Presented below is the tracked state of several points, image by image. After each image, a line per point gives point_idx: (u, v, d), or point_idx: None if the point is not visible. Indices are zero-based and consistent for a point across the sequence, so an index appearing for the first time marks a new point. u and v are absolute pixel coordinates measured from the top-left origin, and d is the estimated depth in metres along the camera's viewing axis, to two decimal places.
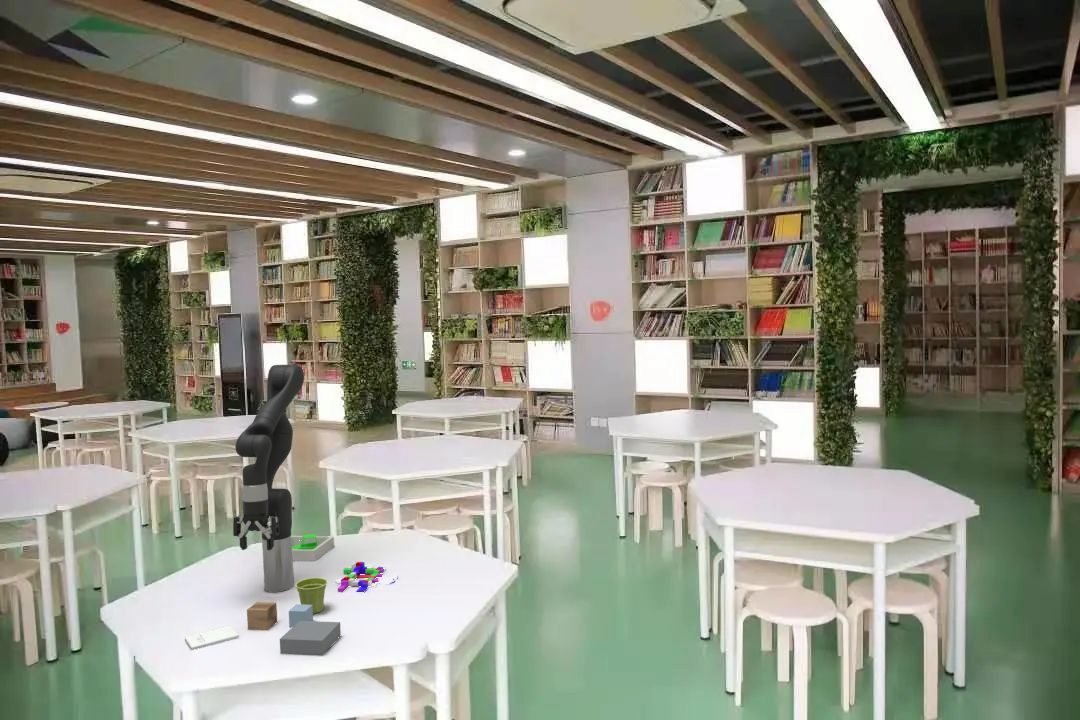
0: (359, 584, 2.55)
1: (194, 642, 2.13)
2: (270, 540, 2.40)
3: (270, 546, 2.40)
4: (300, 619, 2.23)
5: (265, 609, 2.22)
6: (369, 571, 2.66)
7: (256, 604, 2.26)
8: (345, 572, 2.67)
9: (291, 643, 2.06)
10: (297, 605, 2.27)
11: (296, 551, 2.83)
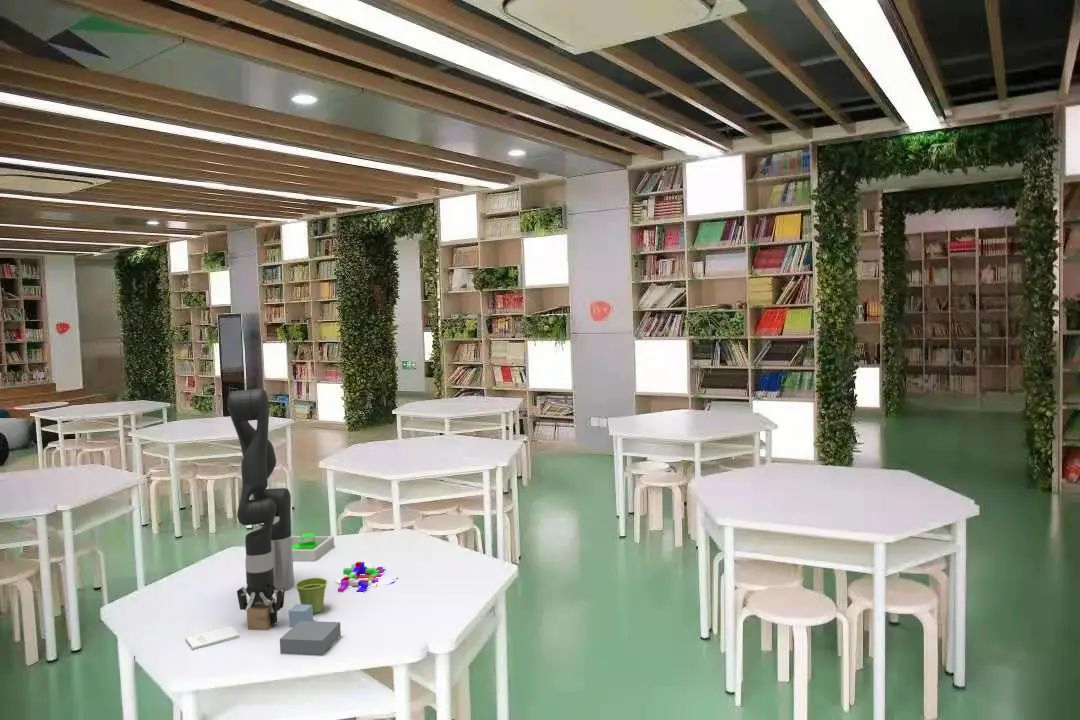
0: (359, 584, 2.55)
1: (195, 642, 2.13)
2: (273, 614, 2.24)
3: (273, 620, 2.24)
4: (300, 619, 2.23)
5: (265, 609, 2.22)
6: (369, 571, 2.66)
7: (256, 604, 2.26)
8: (345, 572, 2.67)
9: (291, 643, 2.06)
10: (297, 605, 2.27)
11: (296, 551, 2.83)
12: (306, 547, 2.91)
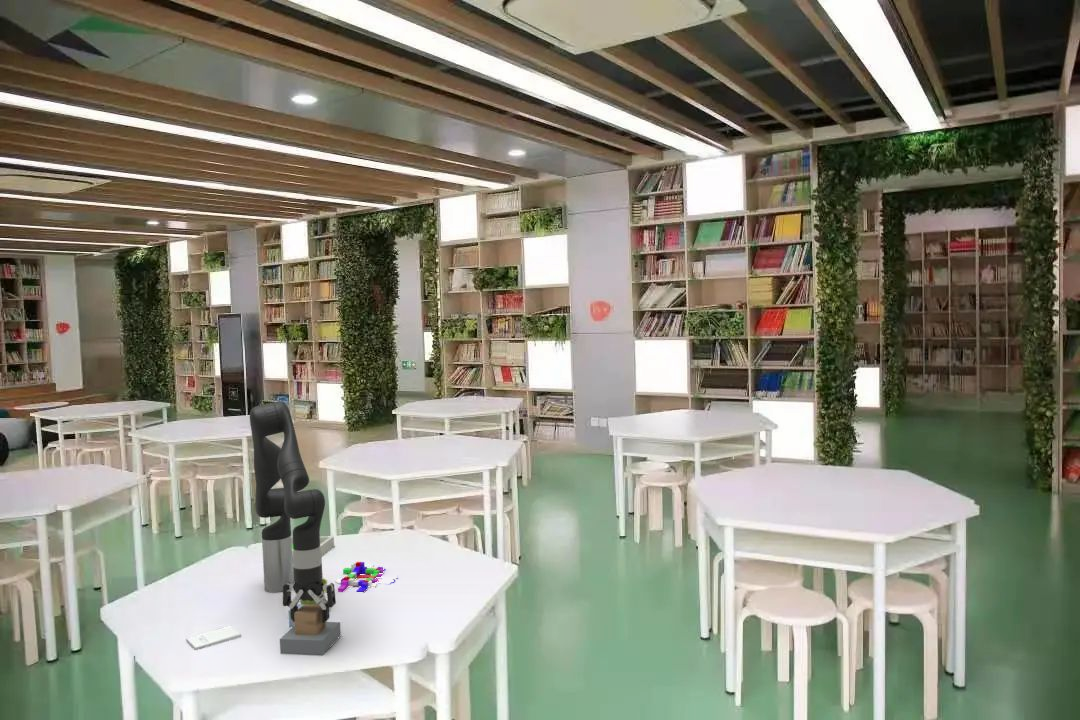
0: (359, 584, 2.55)
1: (197, 642, 2.13)
2: (325, 611, 2.09)
3: (326, 618, 2.10)
4: None
5: (314, 612, 2.08)
6: (369, 571, 2.66)
7: (303, 607, 2.12)
8: (345, 572, 2.67)
9: (291, 643, 2.06)
10: (297, 605, 2.27)
11: None
12: None
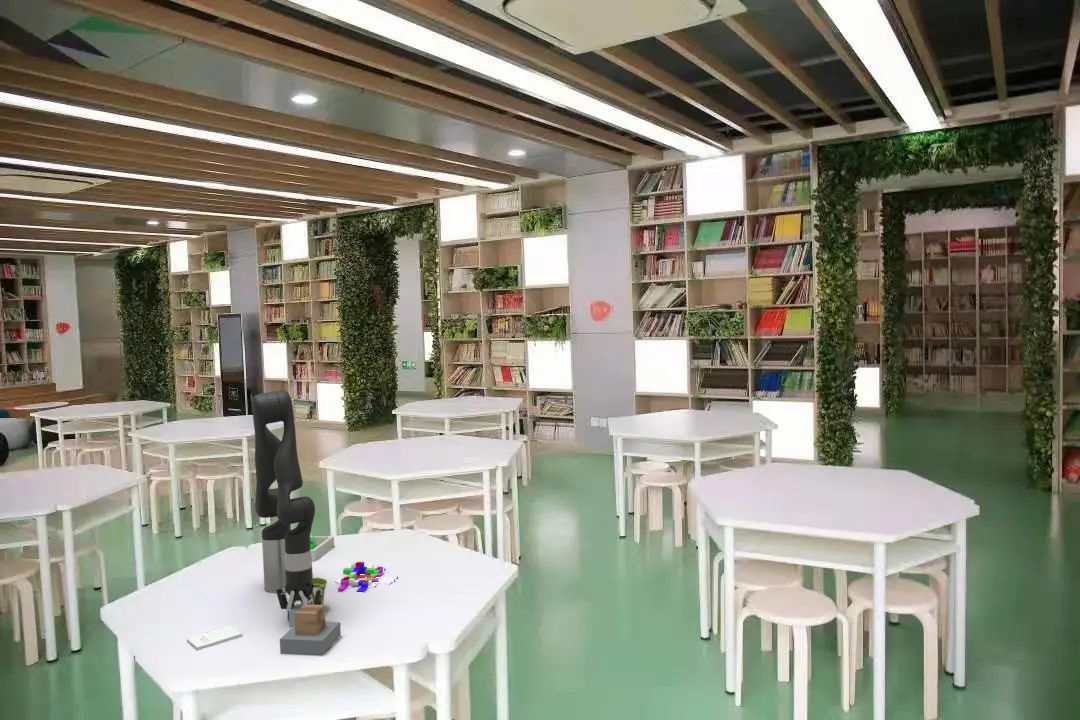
0: (359, 584, 2.55)
1: (198, 642, 2.12)
2: None
3: None
4: None
5: (314, 612, 2.08)
6: (369, 571, 2.66)
7: (303, 607, 2.12)
8: (345, 572, 2.67)
9: (291, 643, 2.06)
10: (297, 605, 2.27)
11: None
12: None
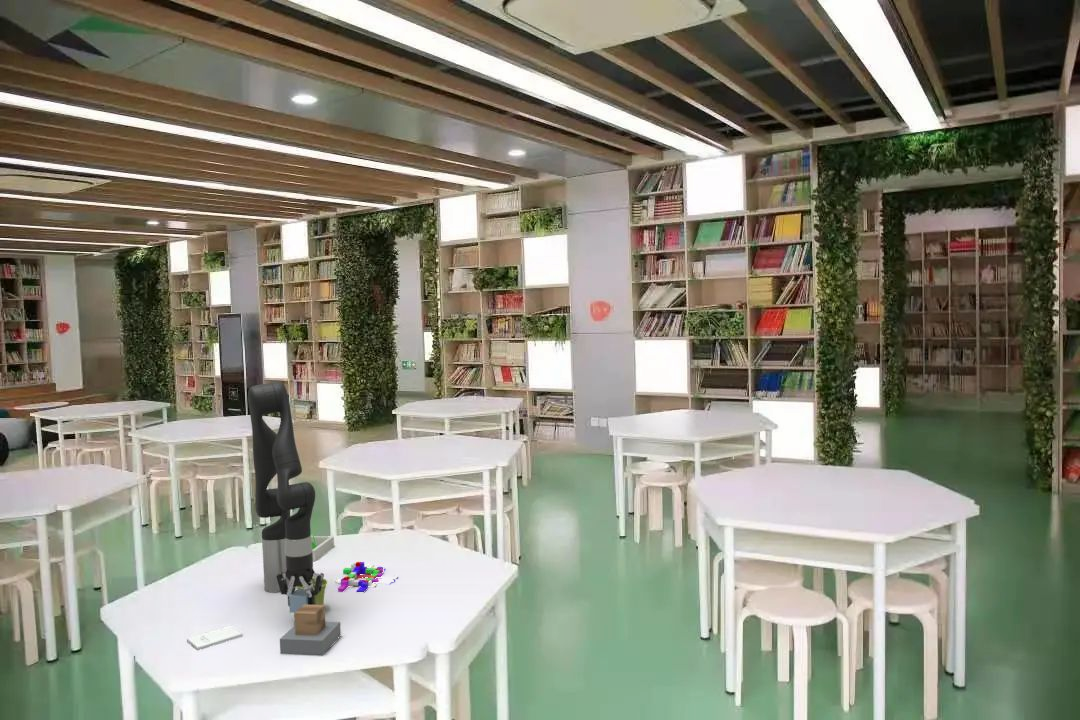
0: (359, 584, 2.55)
1: (199, 642, 2.12)
2: (311, 598, 2.24)
3: None
4: (300, 604, 2.23)
5: (314, 612, 2.08)
6: (369, 571, 2.66)
7: (303, 607, 2.12)
8: (345, 572, 2.67)
9: (291, 643, 2.06)
10: (297, 590, 2.27)
11: None
12: None
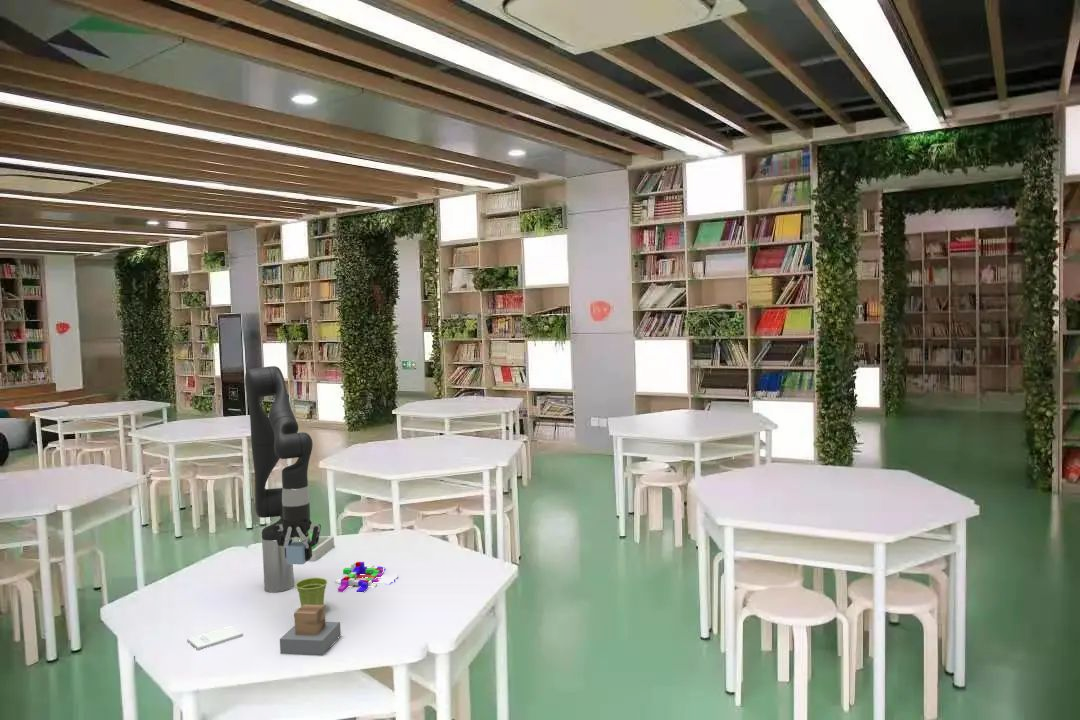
0: (359, 584, 2.55)
1: (199, 642, 2.12)
2: (308, 550, 2.22)
3: (308, 556, 2.22)
4: (297, 555, 2.21)
5: (314, 612, 2.08)
6: (369, 571, 2.66)
7: (303, 607, 2.12)
8: (345, 572, 2.67)
9: (291, 643, 2.06)
10: (294, 542, 2.25)
11: None
12: None
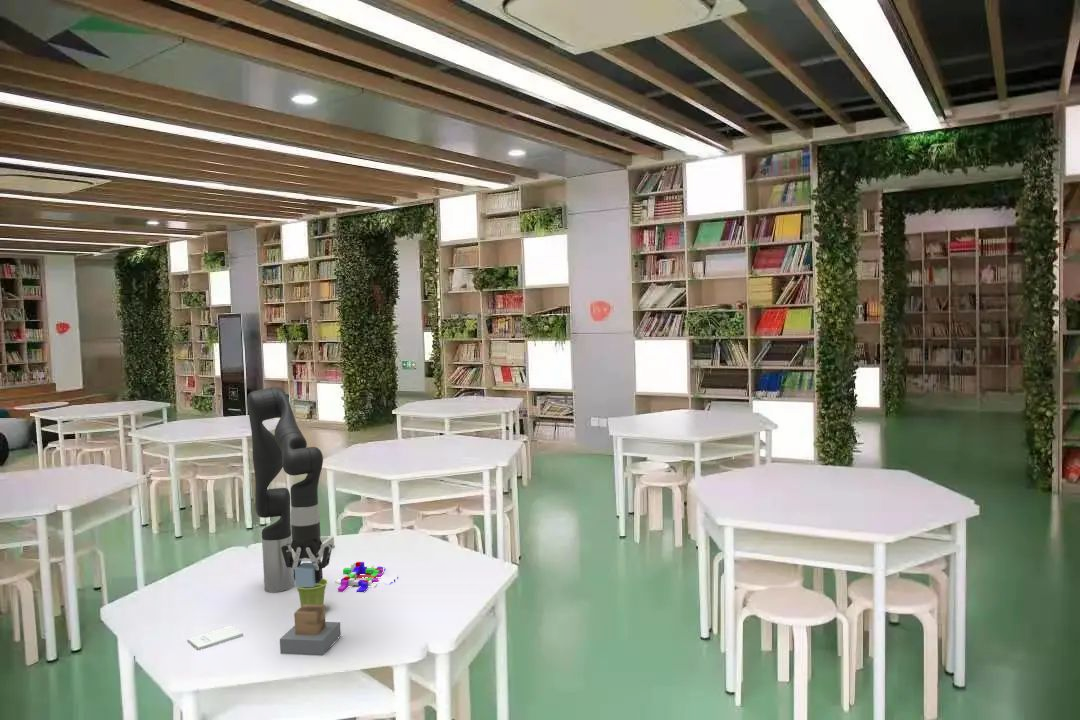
0: (359, 584, 2.55)
1: (200, 642, 2.12)
2: (318, 572, 2.09)
3: (318, 578, 2.09)
4: (307, 577, 2.08)
5: (314, 612, 2.08)
6: (369, 571, 2.66)
7: (303, 607, 2.12)
8: (345, 572, 2.67)
9: (291, 643, 2.06)
10: (304, 563, 2.12)
11: None
12: None
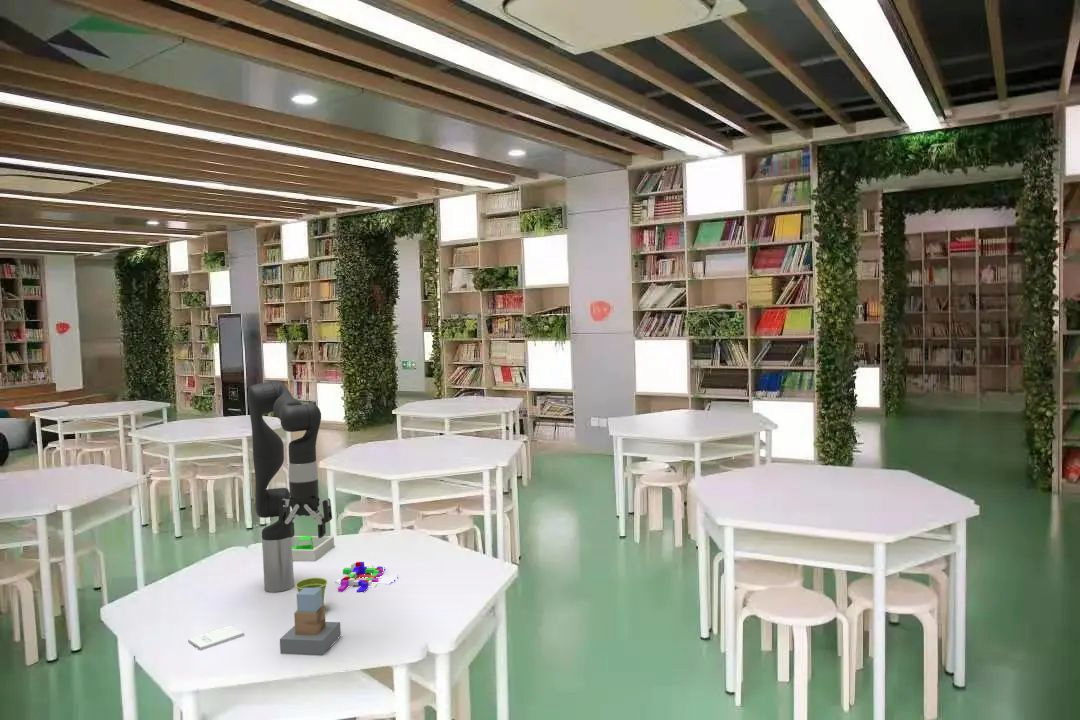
0: (359, 584, 2.55)
1: (201, 642, 2.12)
2: (322, 526, 2.08)
3: (322, 533, 2.08)
4: (309, 603, 2.08)
5: None
6: (369, 571, 2.67)
7: None
8: (345, 572, 2.67)
9: (291, 643, 2.06)
10: (305, 588, 2.12)
11: (296, 551, 2.83)
12: None
